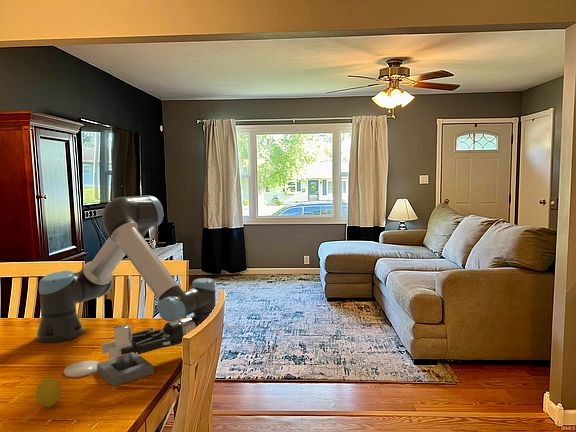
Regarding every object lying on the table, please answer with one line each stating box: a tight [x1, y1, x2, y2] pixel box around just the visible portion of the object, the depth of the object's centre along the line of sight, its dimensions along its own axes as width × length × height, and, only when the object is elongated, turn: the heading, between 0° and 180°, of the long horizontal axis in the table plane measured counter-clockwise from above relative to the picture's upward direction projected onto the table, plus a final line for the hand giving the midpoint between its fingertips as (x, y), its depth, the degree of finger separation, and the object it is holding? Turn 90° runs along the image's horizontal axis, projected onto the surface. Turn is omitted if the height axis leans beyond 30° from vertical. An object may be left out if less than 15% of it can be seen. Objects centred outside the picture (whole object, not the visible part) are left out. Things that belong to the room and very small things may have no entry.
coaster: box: [63, 360, 100, 378], centre depth 134 cm, size 10×10×1 cm
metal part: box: [113, 323, 133, 371], centre depth 131 cm, size 5×5×14 cm
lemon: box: [35, 376, 62, 409], centre depth 112 cm, size 6×6×8 cm
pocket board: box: [96, 353, 154, 387], centre depth 132 cm, size 13×12×2 cm
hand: (105, 351), depth 128 cm, fingers closed on metal part, 5 cm apart
